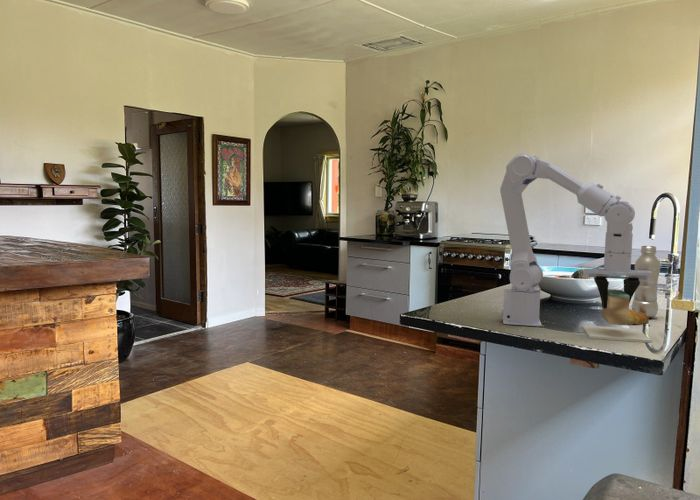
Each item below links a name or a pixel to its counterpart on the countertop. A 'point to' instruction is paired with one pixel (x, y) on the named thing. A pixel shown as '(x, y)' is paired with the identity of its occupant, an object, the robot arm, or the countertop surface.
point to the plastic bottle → (647, 282)
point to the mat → (615, 333)
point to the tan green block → (616, 307)
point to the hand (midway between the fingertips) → (614, 308)
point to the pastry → (637, 317)
